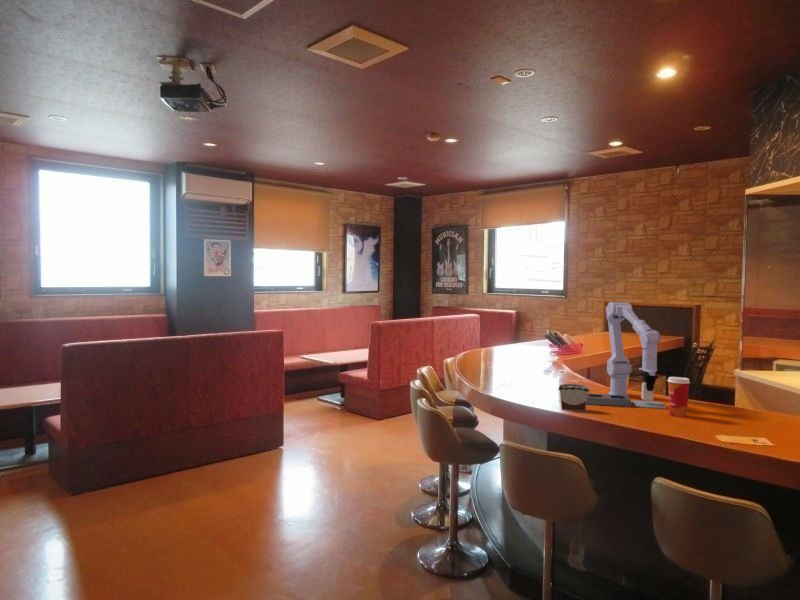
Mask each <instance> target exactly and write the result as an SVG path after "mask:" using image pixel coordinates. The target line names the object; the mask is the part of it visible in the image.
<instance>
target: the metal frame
mask: <svg viewBox="0 0 800 600" xmlns="http://www.w3.org/2000/svg"><path fill="white" fill-rule="evenodd" d="M628 396H629V395H628V394H627V395H610V394H609V393H608V394H607V393H592V392H591V393H590V392H588V395H587V402H586V405H593V406H610V407H627V408H631V407H632V400H631V398H630V396H629V397H628Z"/></svg>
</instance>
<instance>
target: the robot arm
mask: <svg viewBox="0 0 800 600" xmlns="http://www.w3.org/2000/svg"><path fill="white" fill-rule="evenodd" d="M605 314H606V320H607V325H608V332H609V334H608V335H609V340H610V350H611V351H610V352H611V357H610V358H609V359H607V361H606V362H607V363H606V364H607V365H606V373H607V374H608V376H609V377H610V391H608V394H610V395H628V393H627V392H628V378H629V376H630V375H631V373H632V367H631V364H630V359H628V358H627V357H626V356H625V354H624V353H625V352H624V346H623V345H624V344H623V335H622V329H621V327H622V326H621V322H623V321H624V320H625V319H626V320H627V321H628V322H629V323H630V324H631V325H632V327H631V328H632V329H633V330H634V332H635V333H636V334H637V335H638V337H639V341H640V343H641V344H640V346H641V348H642V355H641V357H642V358H641V360H642V361H641V362H642V363H641V365H642V366H641V367H639V368H638V370H639V371H640V374H641V376H642V379H643V382H644V383H646V387H647V391H653V388H655V385H656V381H657V379H658V378H659V375H657V374H656V372H658V367H657V365H658V364H657V363H658V360H657V359H658V344H660V342H661V334H660V332H659V331H658V330H654V329H652V328H651V327H650V326H649V325H648V324H647V322H646V321H645V320H644V319H639V317H638V316H637V315H636V313H635V312H634V311H633V306H632V304H630V302H628V301H627V302H625V301H624V302H612V301H610V302H609V303H608V304H607V305H606V307H605ZM642 371H643V372H642ZM628 397H629V398H630V396H629V395H628Z"/></svg>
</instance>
